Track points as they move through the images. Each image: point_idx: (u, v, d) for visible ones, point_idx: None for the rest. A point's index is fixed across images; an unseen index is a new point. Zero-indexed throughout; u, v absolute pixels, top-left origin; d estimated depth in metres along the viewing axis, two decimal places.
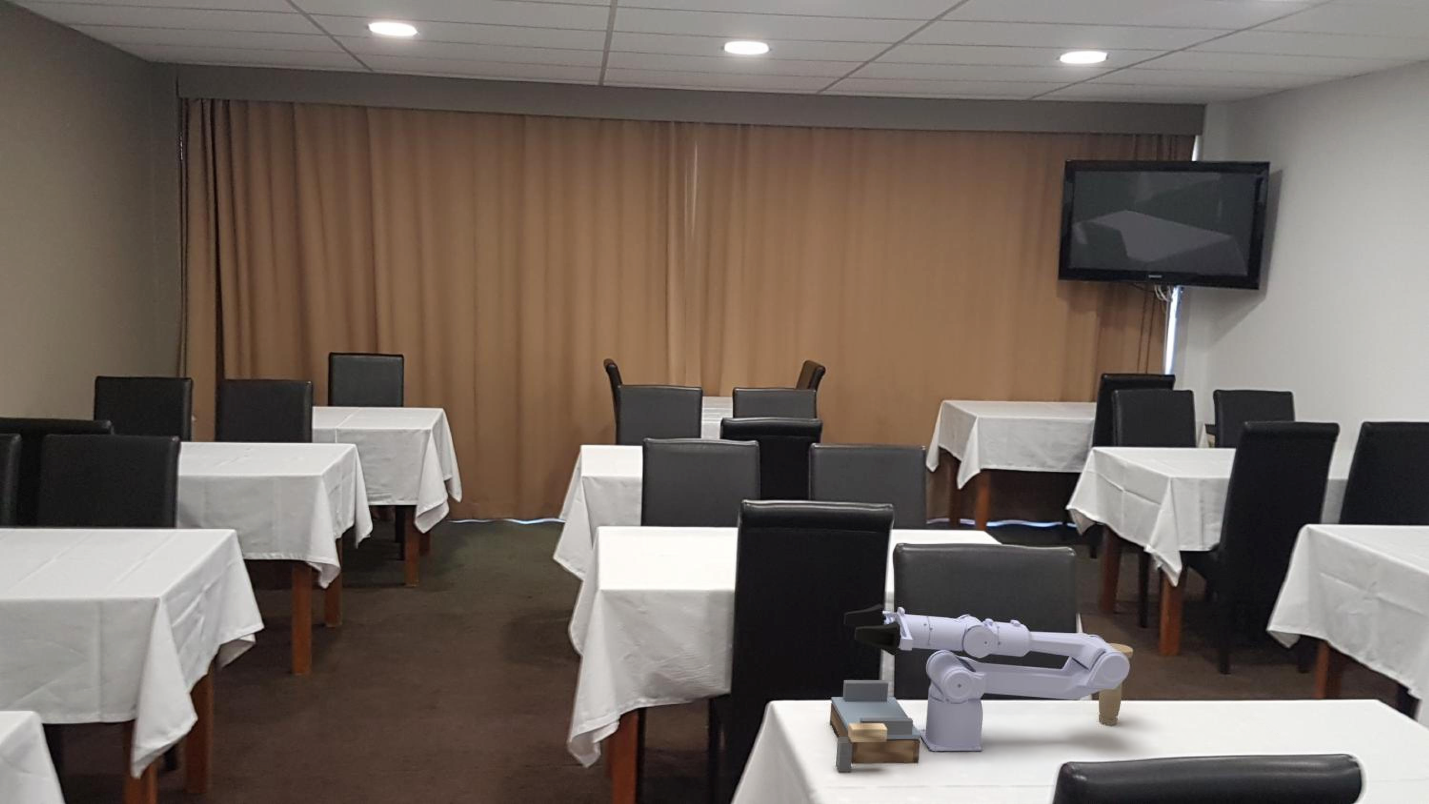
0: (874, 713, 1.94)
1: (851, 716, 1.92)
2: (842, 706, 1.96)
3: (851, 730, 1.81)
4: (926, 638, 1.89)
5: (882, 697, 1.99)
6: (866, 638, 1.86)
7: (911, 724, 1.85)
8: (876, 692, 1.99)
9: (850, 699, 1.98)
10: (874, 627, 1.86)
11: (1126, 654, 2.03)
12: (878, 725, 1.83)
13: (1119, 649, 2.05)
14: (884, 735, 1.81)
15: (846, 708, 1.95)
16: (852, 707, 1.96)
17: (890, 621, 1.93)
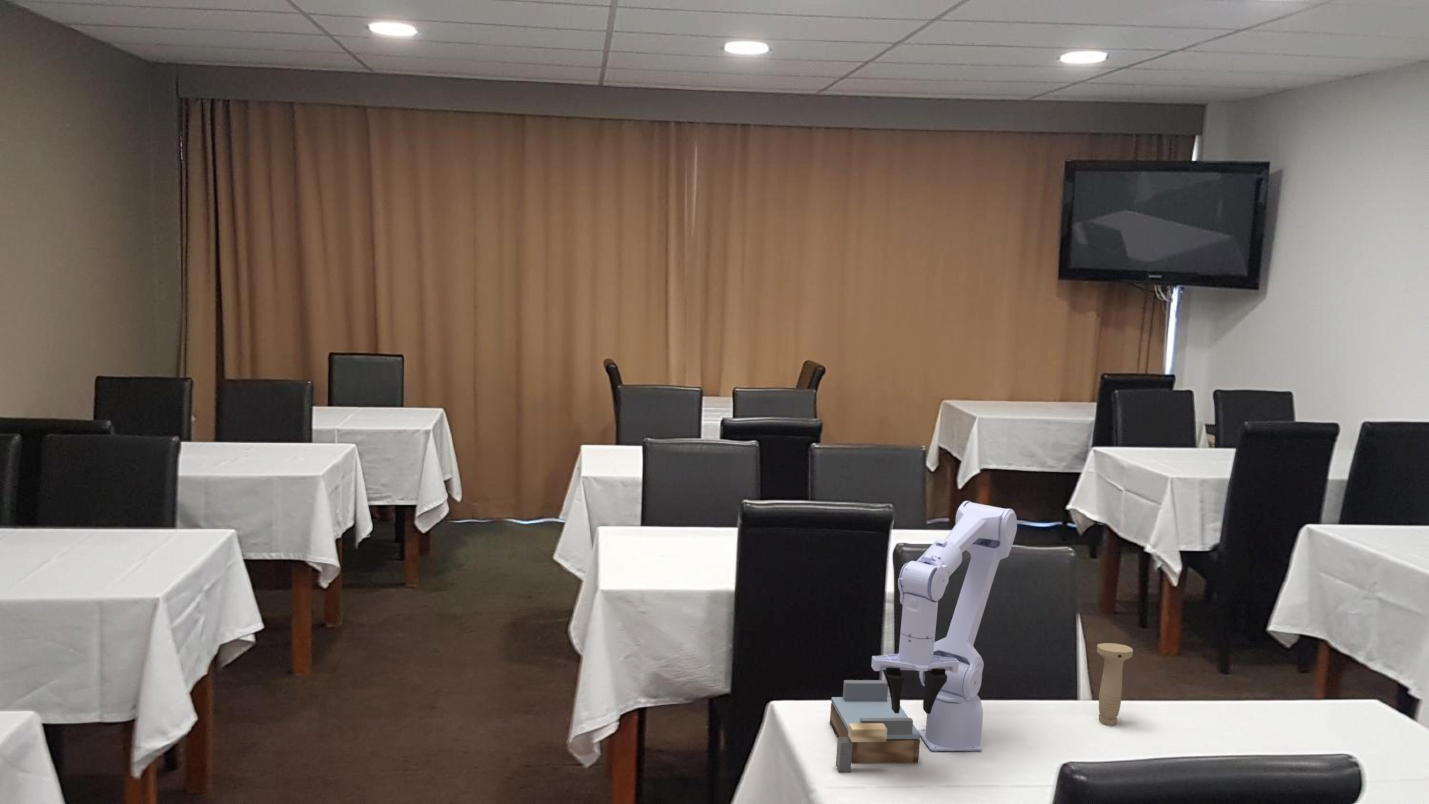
0: (874, 713, 1.94)
1: (851, 716, 1.92)
2: (842, 706, 1.96)
3: (851, 730, 1.81)
4: None
5: (882, 697, 1.99)
6: None
7: (911, 724, 1.85)
8: (876, 692, 1.99)
9: (850, 699, 1.98)
10: (933, 697, 1.81)
11: (1126, 654, 2.03)
12: (878, 725, 1.83)
13: (1119, 649, 2.05)
14: (884, 735, 1.81)
15: (846, 708, 1.95)
16: (852, 707, 1.96)
17: (902, 666, 1.80)
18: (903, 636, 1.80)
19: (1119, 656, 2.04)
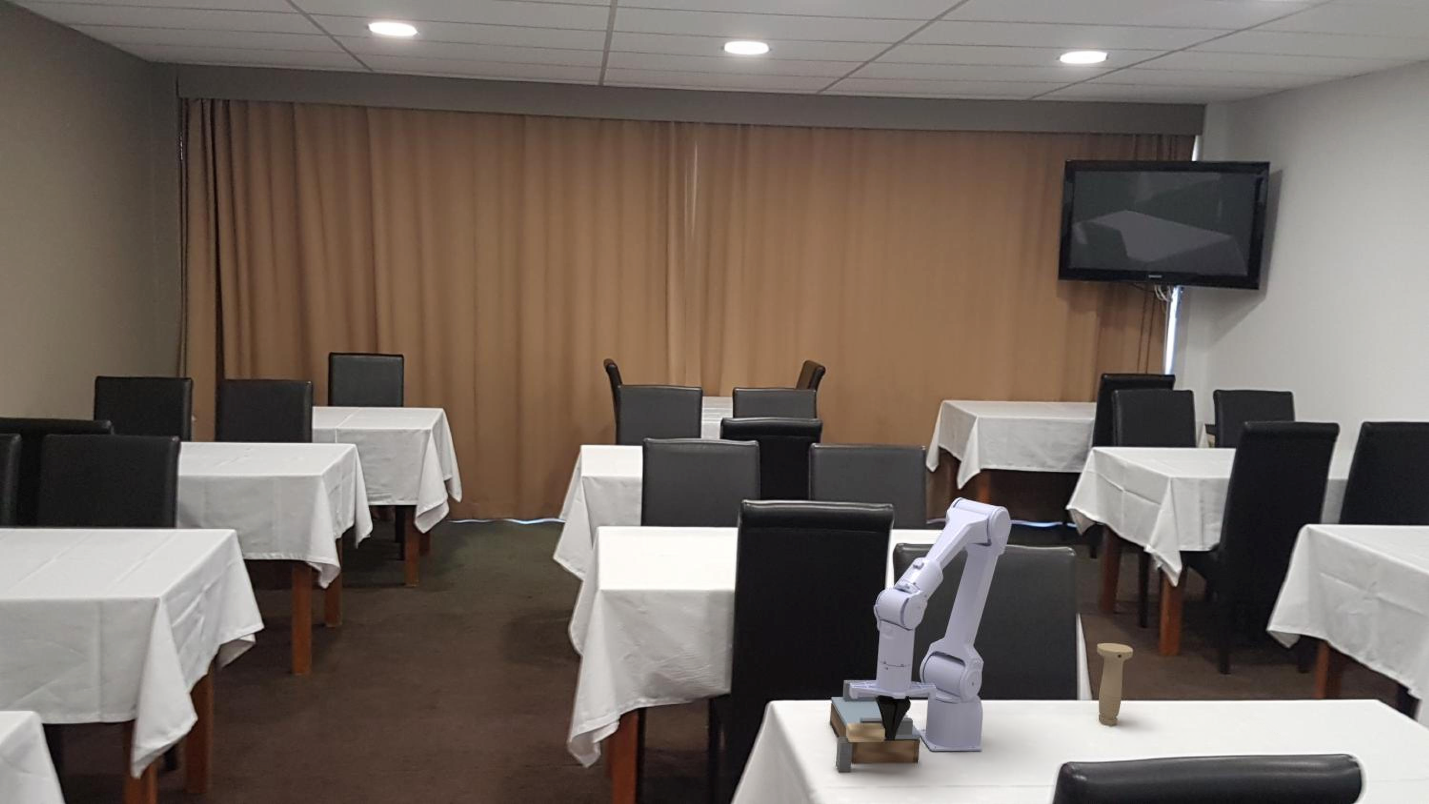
0: (874, 713, 1.94)
1: (851, 716, 1.92)
2: (842, 706, 1.96)
3: (849, 730, 1.81)
4: None
5: None
6: None
7: (911, 724, 1.85)
8: None
9: (850, 699, 1.98)
10: (897, 724, 1.81)
11: (1126, 654, 2.03)
12: (876, 725, 1.82)
13: (1119, 649, 2.05)
14: (882, 735, 1.81)
15: (846, 708, 1.95)
16: (852, 707, 1.96)
17: None
18: (880, 663, 1.80)
19: (1119, 656, 2.04)
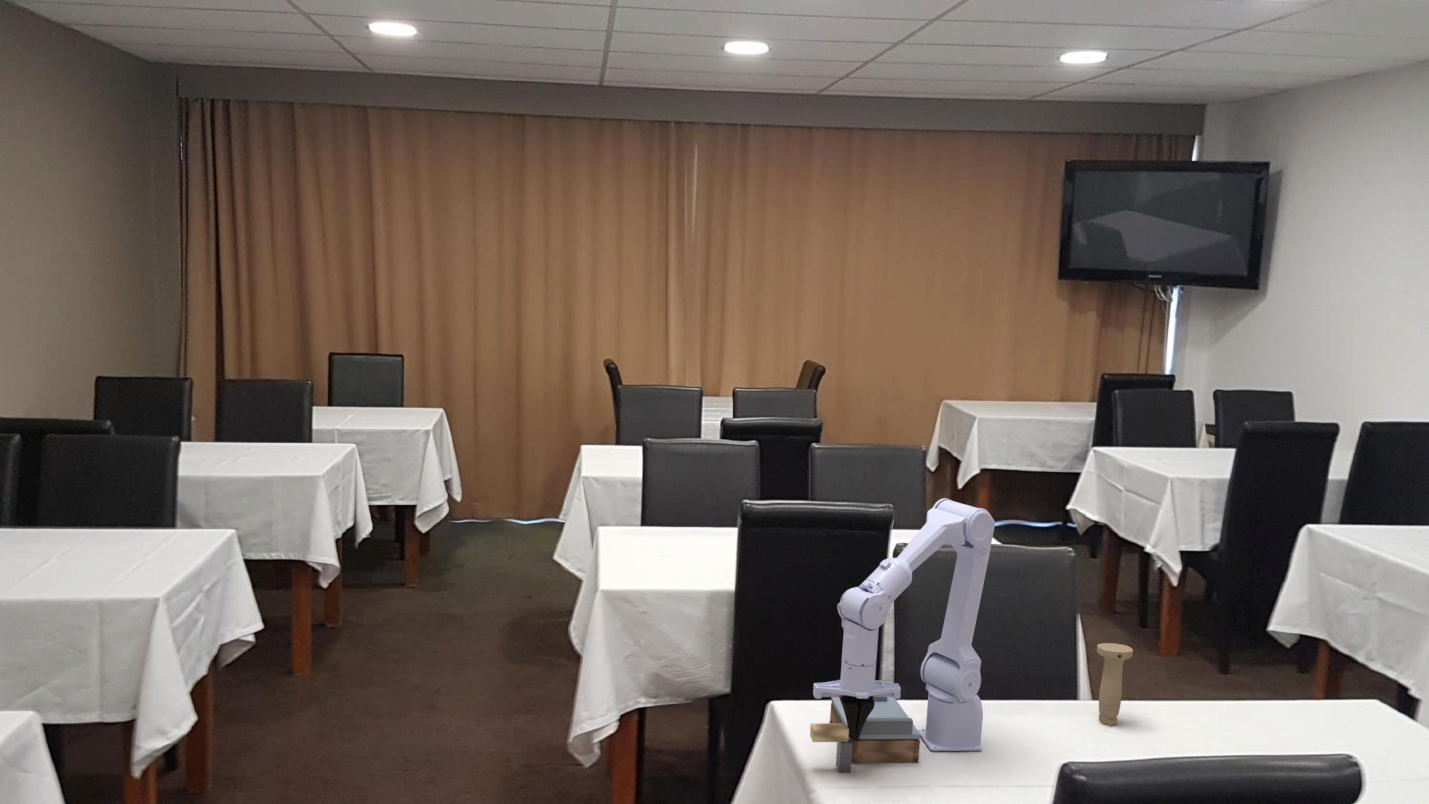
0: (874, 713, 1.94)
1: None
2: (842, 706, 1.96)
3: (812, 730, 1.80)
4: None
5: (882, 697, 1.99)
6: None
7: (911, 724, 1.85)
8: None
9: None
10: (861, 724, 1.80)
11: (1126, 654, 2.03)
12: (840, 725, 1.82)
13: (1119, 649, 2.05)
14: (846, 735, 1.81)
15: None
16: None
17: None
18: (844, 663, 1.79)
19: (1119, 656, 2.03)
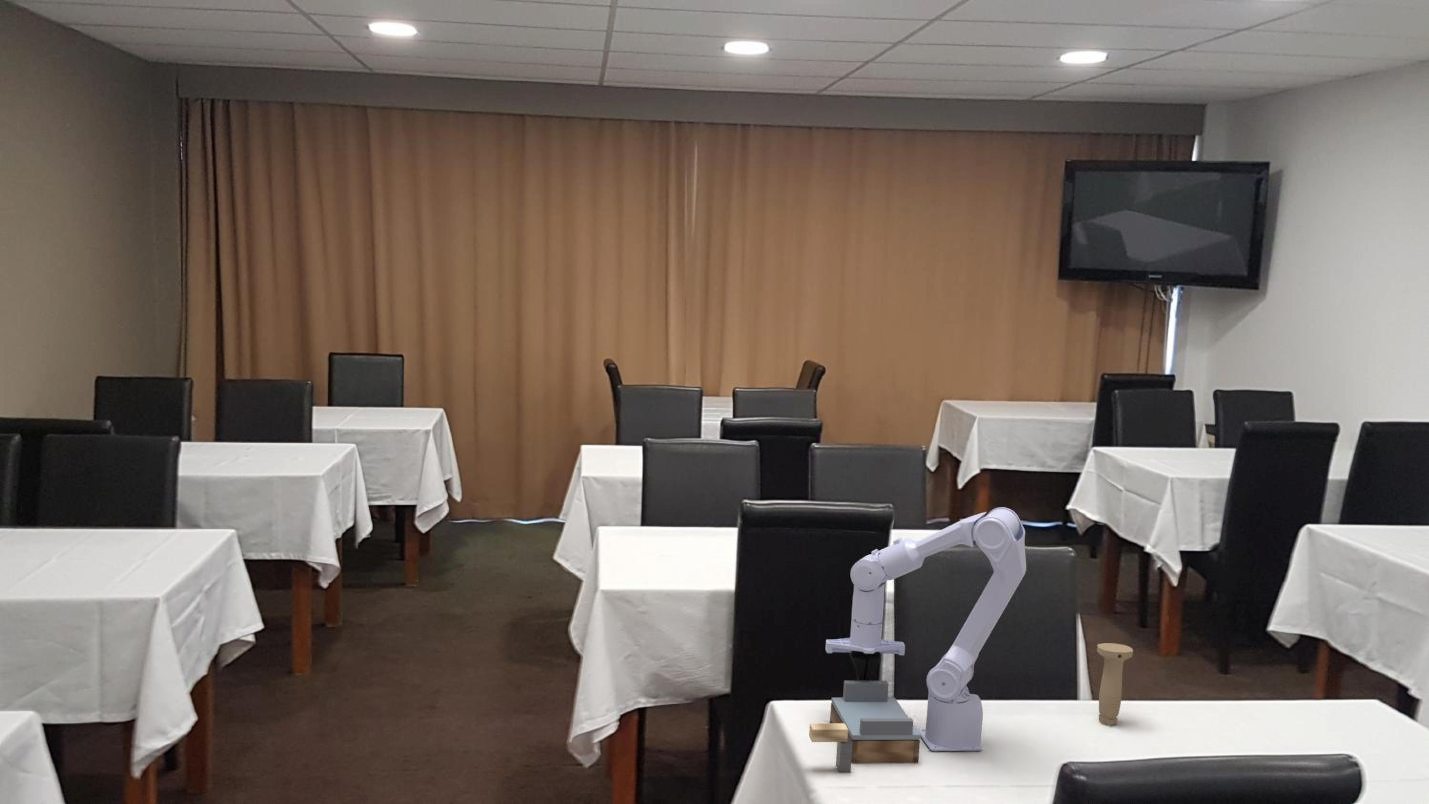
0: (874, 714, 1.93)
1: (851, 716, 1.92)
2: (842, 707, 1.96)
3: (812, 730, 1.80)
4: None
5: (882, 697, 1.99)
6: None
7: (911, 724, 1.85)
8: (876, 692, 1.99)
9: (850, 699, 1.98)
10: (869, 677, 2.00)
11: (1126, 654, 2.03)
12: (839, 725, 1.82)
13: (1119, 649, 2.05)
14: (845, 735, 1.81)
15: (846, 708, 1.95)
16: (852, 707, 1.96)
17: (853, 649, 2.00)
18: (853, 622, 1.99)
19: (1119, 656, 2.04)
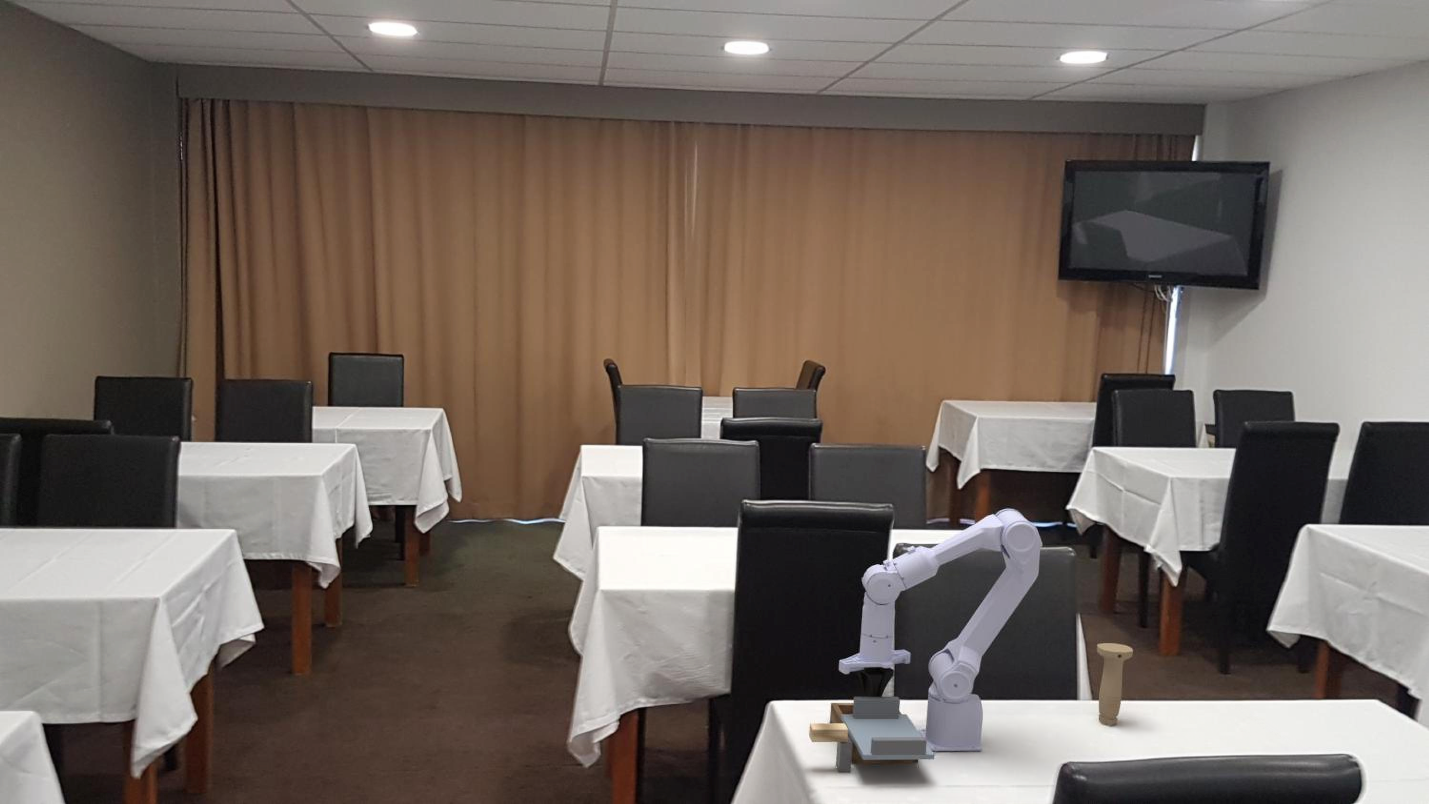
0: (885, 732, 1.86)
1: (862, 735, 1.84)
2: (852, 724, 1.88)
3: (812, 730, 1.80)
4: None
5: (894, 714, 1.92)
6: None
7: (925, 744, 1.78)
8: (887, 709, 1.91)
9: (860, 716, 1.91)
10: (882, 691, 1.93)
11: (1126, 654, 2.03)
12: (839, 725, 1.82)
13: (1119, 649, 2.05)
14: (845, 735, 1.81)
15: (856, 726, 1.88)
16: (863, 725, 1.88)
17: None
18: (867, 638, 1.91)
19: (1119, 656, 2.04)
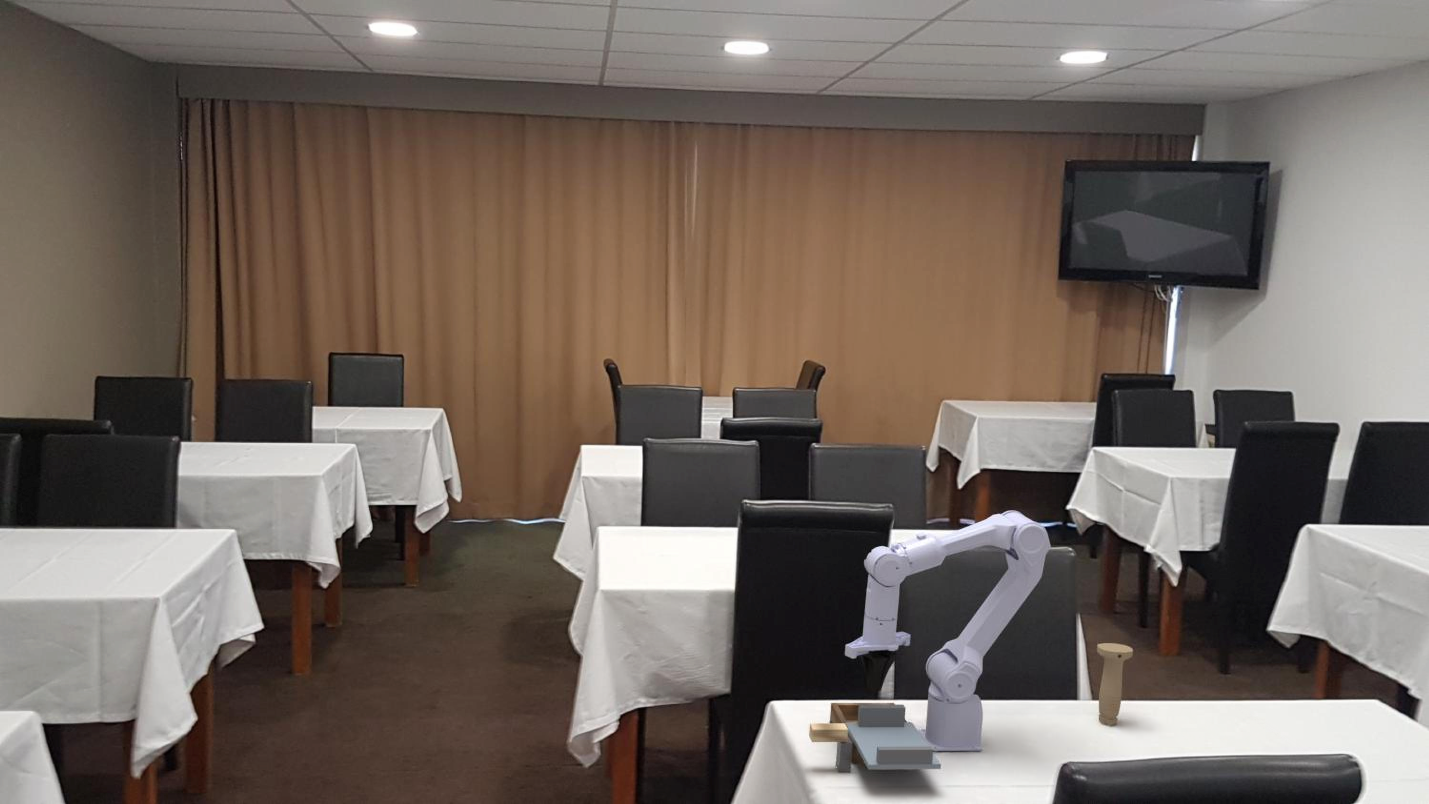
0: (891, 740, 1.83)
1: (867, 744, 1.81)
2: (857, 733, 1.85)
3: (812, 730, 1.80)
4: None
5: (899, 722, 1.88)
6: None
7: (931, 753, 1.75)
8: (893, 717, 1.88)
9: (865, 725, 1.88)
10: (885, 674, 1.91)
11: (1126, 654, 2.03)
12: (839, 725, 1.82)
13: (1119, 649, 2.05)
14: (845, 735, 1.81)
15: (861, 735, 1.84)
16: (868, 733, 1.85)
17: None
18: (873, 621, 1.88)
19: (1119, 656, 2.04)
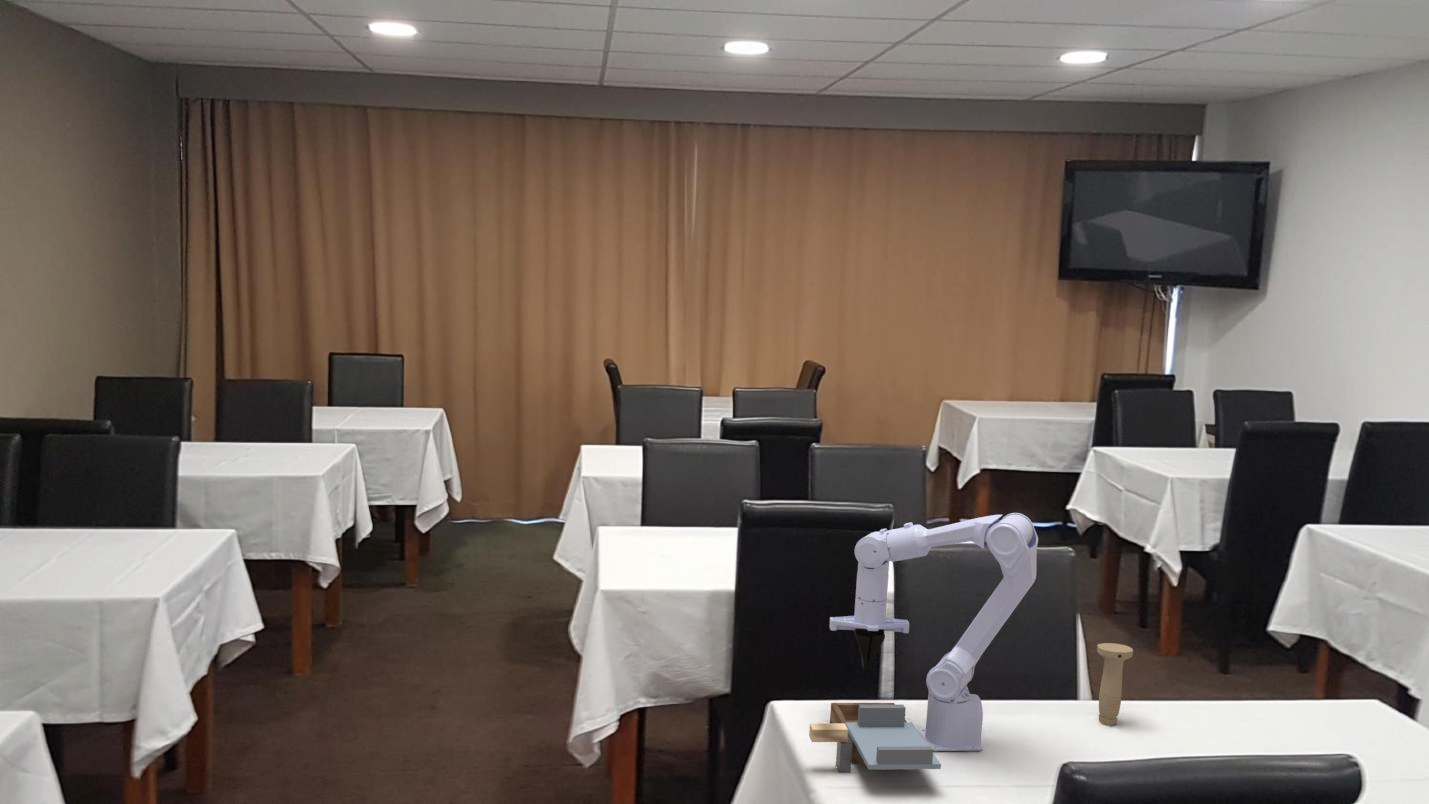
0: (891, 740, 1.83)
1: (867, 744, 1.81)
2: (857, 733, 1.85)
3: (812, 730, 1.80)
4: None
5: (899, 722, 1.88)
6: None
7: (931, 753, 1.75)
8: (893, 717, 1.88)
9: (865, 725, 1.88)
10: (873, 655, 1.99)
11: (1126, 654, 2.03)
12: (839, 725, 1.82)
13: (1119, 649, 2.05)
14: (845, 735, 1.81)
15: (861, 735, 1.84)
16: (868, 733, 1.85)
17: None
18: (857, 599, 1.99)
19: (1119, 656, 2.04)
